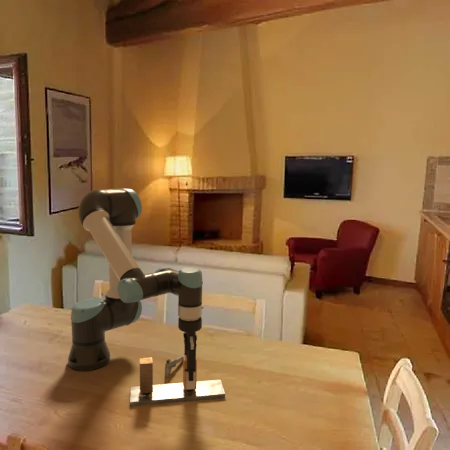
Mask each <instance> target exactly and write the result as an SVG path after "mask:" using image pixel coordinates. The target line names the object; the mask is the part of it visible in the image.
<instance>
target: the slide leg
mask: <svg viewBox="0 0 450 450" xmlns="http://www.w3.org/2000/svg"><path fill="white" fill-rule="evenodd" d="M182 355H183V354H182ZM197 361H198V359H197V358H196V372H195V389H196V387H197V380H198V379H197V377H198V376H197V372H198V371H197V367H198V365H197V364H198V363H197ZM185 369H187V355H183V360H182V383H183V386H184V390H186V372H185ZM188 390H189V389H188Z"/></svg>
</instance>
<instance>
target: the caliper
mask: <svg viewBox="0 0 450 450" xmlns="http://www.w3.org/2000/svg"><path fill="white" fill-rule="evenodd" d="M183 355H184V353H183V354H181V355H180V356H178V357H177V358H173V359H171V358H170V359H169V358H168V359H166V362H165V364H164V378H169V377H170V376H171V372H172V369H173V368H176V366H177V364H179V363H180V362H183Z"/></svg>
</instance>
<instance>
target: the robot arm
mask: <svg viewBox="0 0 450 450" xmlns="http://www.w3.org/2000/svg"><path fill="white" fill-rule="evenodd" d="M77 212H78V219H79V222H80V224H81V225H82V227H83V228H84V230H85V231H88V232H89V233H90V234H91V236H92V237H93V240H94V241H95V243H96V244H97V246H98V248H99V250H100V251H101V253H102V254H103V256H104V257H105V260H106V261H107V263H108V287H109V288H108V290H107V291H105V295H104V299H103V298H101V297H97V296H96V297H95V296H93V297H87V298H83V299H81V300H79V301H77V302H76V303H74V304H73V306H72V308H71V311H70V313H71V314H70V320H71V339H72V342H71V343H72V344H71V348H70V351H69V354H68V357H67V365H68V368H71V369H72V370H74V371H80V372H86V371H87V372H88V371H95V370H98V369H100V368H103V367H104V366H106V365H108V364H109V363H110V361H111V351H110V350H109V347H108V345H107V342H106V337H105V336H106V335H105V334H106V333H105V332H108V331H110V330H115V329H119V328H122V327H125V326H129V325H131V324H134V323H136V322H137V321H138V320H139V319H140V317H141V315H142V313H143V312H142V311H143V305H142V303H143V302H142V301H143V300H145V299H146V300H147V299H150V298H153V297H158V296H159V297H160V296H162V295H166V294H173V295H175V296H178V298H177V299H178V300H177V302H178V303H177V307H178V308H177V316H178V319H177V321H178V325H177V326H178V329H179V330H180V331H181V332H183V334H182V335H183V342H184V343H183V344H184V348H183V349H184V353H183V354H184V355H187V369H185V372H186V390H188V389H195V372H196V359H197V346H198V344H197V341H198V339H197V338H198V336H197V333H196V332H198V331H200V330H202V326H203V318H202V315H203V314H202V313H203V311H202V310H204V306H203V283H204V281H203V273H202V271H201V269H199V268H196V267H183V268H180V269H179V271H178V270H176V269H173V268H171V267H164V266H163V267H162V266H161V267H159V268H158V269H156V270H155V272H152V273H146V274H145V273H144V272H143V270H142V269H141V267H140V266H139V265H138V263H137V261H136V260H135V259H134V257H133V255H132V252H133V251H132V250H133V249H132V244H133V243H132V236H133V235H132V229H133V228H134V227H135V226H136V219H138V218H140V217H141V215H142V212H143V205H142V201H141V198H140V196H139V195H138V193H137V191H135V190H134V189H131V188H123V187H121V188H107V189H94V190H90V191H89V192H88V193H86V194H85V195H83V197H82V198H81V200H80V202H79V204H78V211H77Z"/></svg>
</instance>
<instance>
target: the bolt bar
mask: <svg viewBox="0 0 450 450" xmlns="http://www.w3.org/2000/svg"><path fill="white" fill-rule="evenodd" d="M153 364H154V363H153V357H152V356H151V357H139V386H131V387H130V398H129V401H130V402H129V406H130V407H131V408H132V407H142V406H152V405H153V406H154V405H163V404H164V405H165V404H172V403H184V402H195V401H196V402H197V401H206V400H207V401H208V400H216V399H217V400H218V399H225V398H226V392H225V389H224V386H223V384H222V380H221V379H213V380H212V379H211V380H198V381H197V387H196V389H189V390H184V386H183V382H175V383H163V384H160V383H159V384H154V377H153V375H154V373H153V372H154V371H153V370H154V368H153V367H154V365H153Z"/></svg>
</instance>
